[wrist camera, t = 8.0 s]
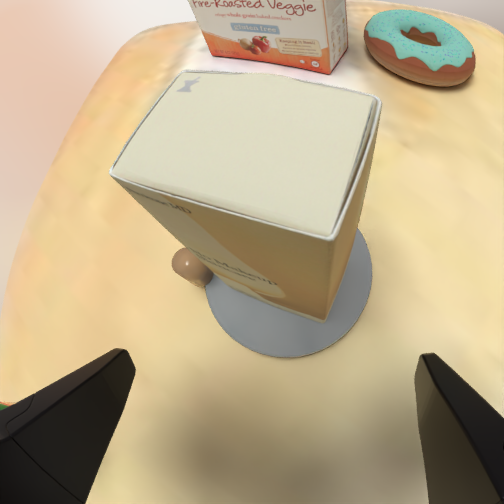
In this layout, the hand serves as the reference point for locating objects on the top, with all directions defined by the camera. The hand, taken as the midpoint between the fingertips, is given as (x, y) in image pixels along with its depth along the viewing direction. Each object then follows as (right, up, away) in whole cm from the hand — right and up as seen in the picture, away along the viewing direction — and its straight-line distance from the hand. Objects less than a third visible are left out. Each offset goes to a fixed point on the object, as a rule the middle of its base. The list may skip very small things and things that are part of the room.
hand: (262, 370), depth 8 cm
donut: (+17, +23, +16) cm, 33 cm away
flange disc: (+2, +2, +11) cm, 11 cm away
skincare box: (+2, +2, +10) cm, 10 cm away
